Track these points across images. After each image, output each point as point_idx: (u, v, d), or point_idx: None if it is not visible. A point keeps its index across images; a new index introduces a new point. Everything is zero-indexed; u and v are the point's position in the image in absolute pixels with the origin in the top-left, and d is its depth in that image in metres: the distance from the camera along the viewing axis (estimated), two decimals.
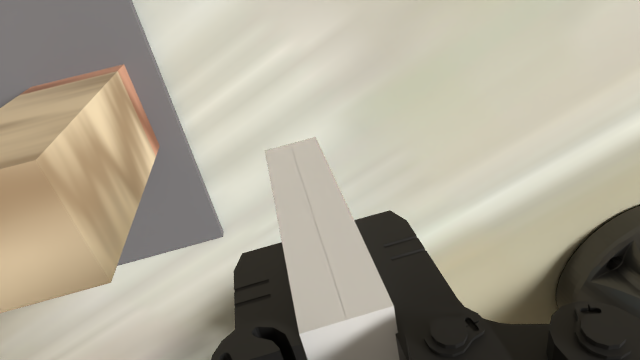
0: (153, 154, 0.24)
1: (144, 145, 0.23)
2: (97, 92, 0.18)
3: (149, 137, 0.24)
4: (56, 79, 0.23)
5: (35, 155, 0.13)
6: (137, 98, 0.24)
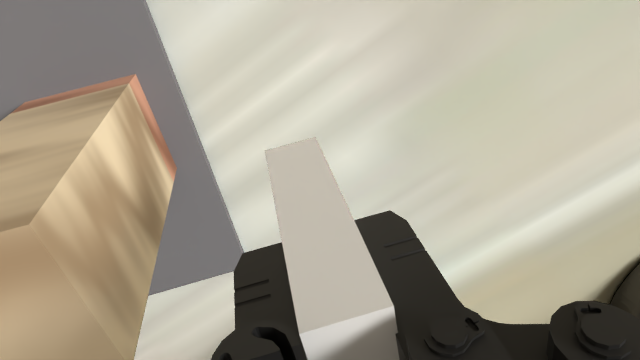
0: (170, 180, 0.20)
1: (161, 170, 0.19)
2: (107, 113, 0.15)
3: (166, 159, 0.20)
4: (55, 93, 0.19)
5: (28, 215, 0.09)
6: (151, 114, 0.20)
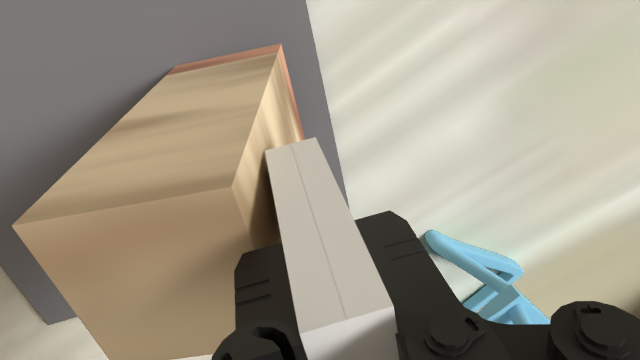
0: None
1: None
2: (267, 80, 0.15)
3: (299, 132, 0.20)
4: (204, 56, 0.20)
5: (227, 177, 0.09)
6: (290, 85, 0.20)
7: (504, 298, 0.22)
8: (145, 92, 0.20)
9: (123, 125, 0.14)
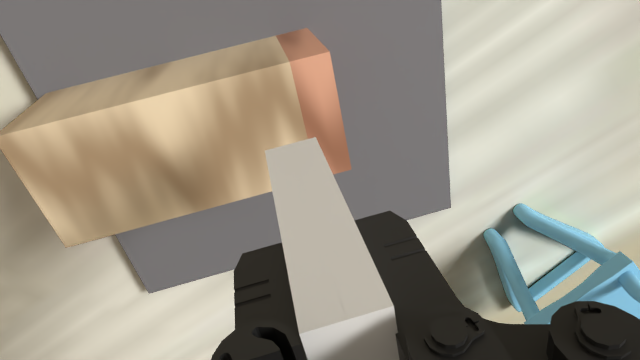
0: None
1: None
2: (189, 87, 0.15)
3: None
4: (336, 18, 0.20)
5: (7, 132, 0.15)
6: (332, 102, 0.16)
7: (614, 265, 0.23)
8: None
9: (159, 66, 0.19)
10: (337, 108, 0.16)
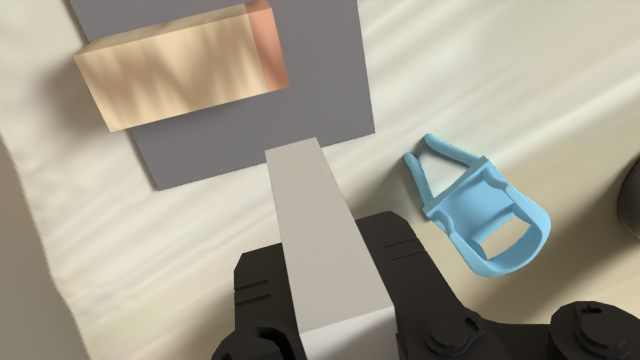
0: (262, 89, 0.28)
1: (248, 78, 0.27)
2: (188, 28, 0.25)
3: (269, 75, 0.28)
4: None
5: (80, 53, 0.25)
6: (274, 40, 0.27)
7: (478, 164, 0.33)
8: None
9: (168, 22, 0.29)
10: (278, 44, 0.27)
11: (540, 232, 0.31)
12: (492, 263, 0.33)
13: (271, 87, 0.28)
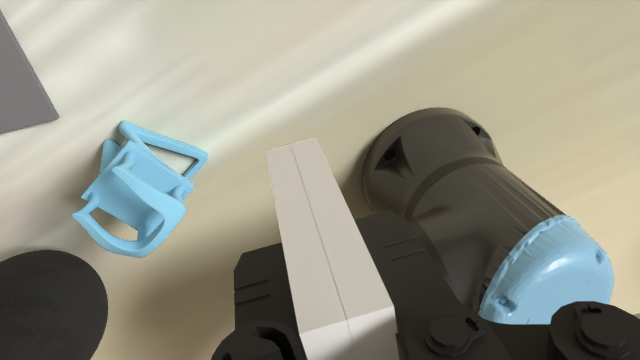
0: None
1: None
2: None
3: None
4: None
5: None
6: None
7: (122, 148, 0.34)
8: None
9: None
10: None
11: (160, 213, 0.32)
12: (133, 244, 0.34)
13: None
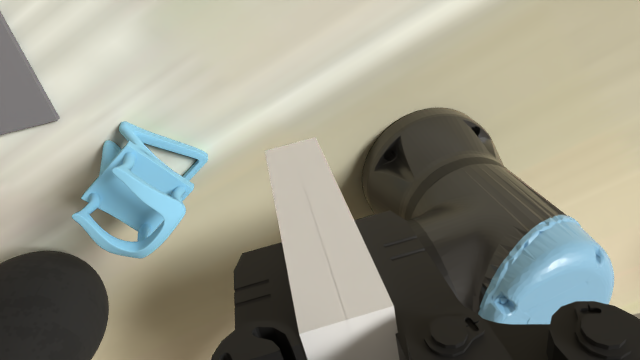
0: None
1: None
2: None
3: None
4: None
5: None
6: None
7: (122, 149, 0.34)
8: None
9: None
10: None
11: (160, 213, 0.32)
12: (133, 245, 0.34)
13: None
